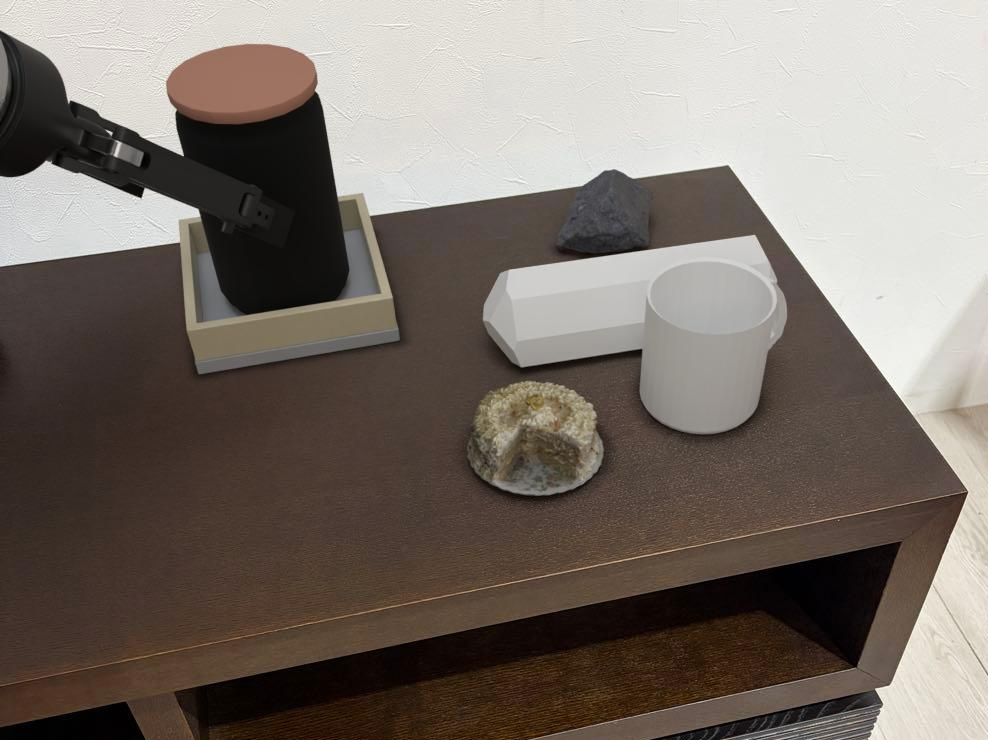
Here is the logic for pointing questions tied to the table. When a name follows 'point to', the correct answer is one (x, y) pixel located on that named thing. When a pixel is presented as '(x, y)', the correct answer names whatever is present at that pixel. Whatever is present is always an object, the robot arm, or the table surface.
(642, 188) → the rock
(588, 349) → the crystal
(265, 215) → the robot arm
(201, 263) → the shallow square crate
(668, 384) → the mug
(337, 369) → the table surface
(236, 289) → the coffee jar
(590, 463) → the cake
